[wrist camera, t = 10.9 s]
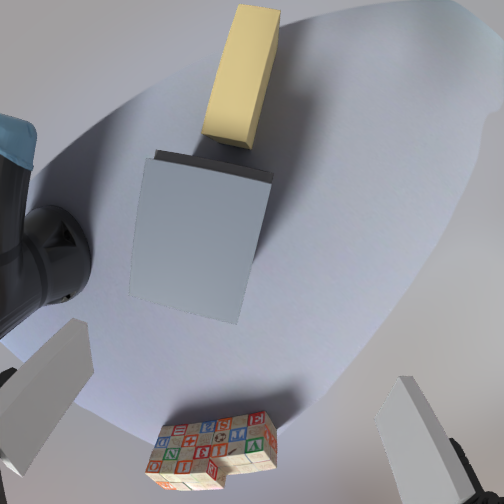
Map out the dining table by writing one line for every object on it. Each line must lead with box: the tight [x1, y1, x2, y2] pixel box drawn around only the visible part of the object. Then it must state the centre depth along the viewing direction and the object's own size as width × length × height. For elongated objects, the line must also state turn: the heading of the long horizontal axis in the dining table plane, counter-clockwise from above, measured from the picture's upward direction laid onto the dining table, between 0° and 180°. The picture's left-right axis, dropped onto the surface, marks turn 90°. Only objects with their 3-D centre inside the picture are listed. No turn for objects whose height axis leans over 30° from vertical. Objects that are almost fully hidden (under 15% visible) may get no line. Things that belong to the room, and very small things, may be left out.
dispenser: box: [129, 150, 274, 325], centre depth 29 cm, size 10×13×14 cm
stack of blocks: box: [145, 411, 277, 491], centre depth 41 cm, size 21×6×12 cm, turn 112°
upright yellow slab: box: [201, 4, 281, 150], centre depth 27 cm, size 4×14×10 cm, turn 167°
